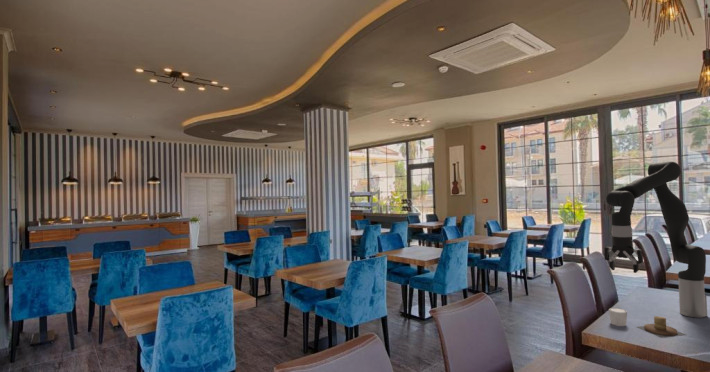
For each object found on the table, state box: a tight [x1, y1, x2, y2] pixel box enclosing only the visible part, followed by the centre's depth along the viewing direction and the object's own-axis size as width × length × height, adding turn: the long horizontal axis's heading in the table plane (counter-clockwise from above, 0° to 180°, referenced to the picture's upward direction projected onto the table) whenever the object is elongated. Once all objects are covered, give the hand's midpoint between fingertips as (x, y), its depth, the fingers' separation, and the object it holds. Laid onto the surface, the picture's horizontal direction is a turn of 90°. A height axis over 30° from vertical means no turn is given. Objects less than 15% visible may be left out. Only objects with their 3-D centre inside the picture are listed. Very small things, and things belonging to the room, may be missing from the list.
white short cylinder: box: [608, 307, 628, 327], centre depth 172 cm, size 7×7×7 cm
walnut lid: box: [643, 315, 678, 337], centre depth 162 cm, size 11×11×6 cm
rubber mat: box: [636, 325, 687, 339], centre depth 162 cm, size 12×12×1 cm
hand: (623, 271), depth 171 cm, fingers open, 8 cm apart
